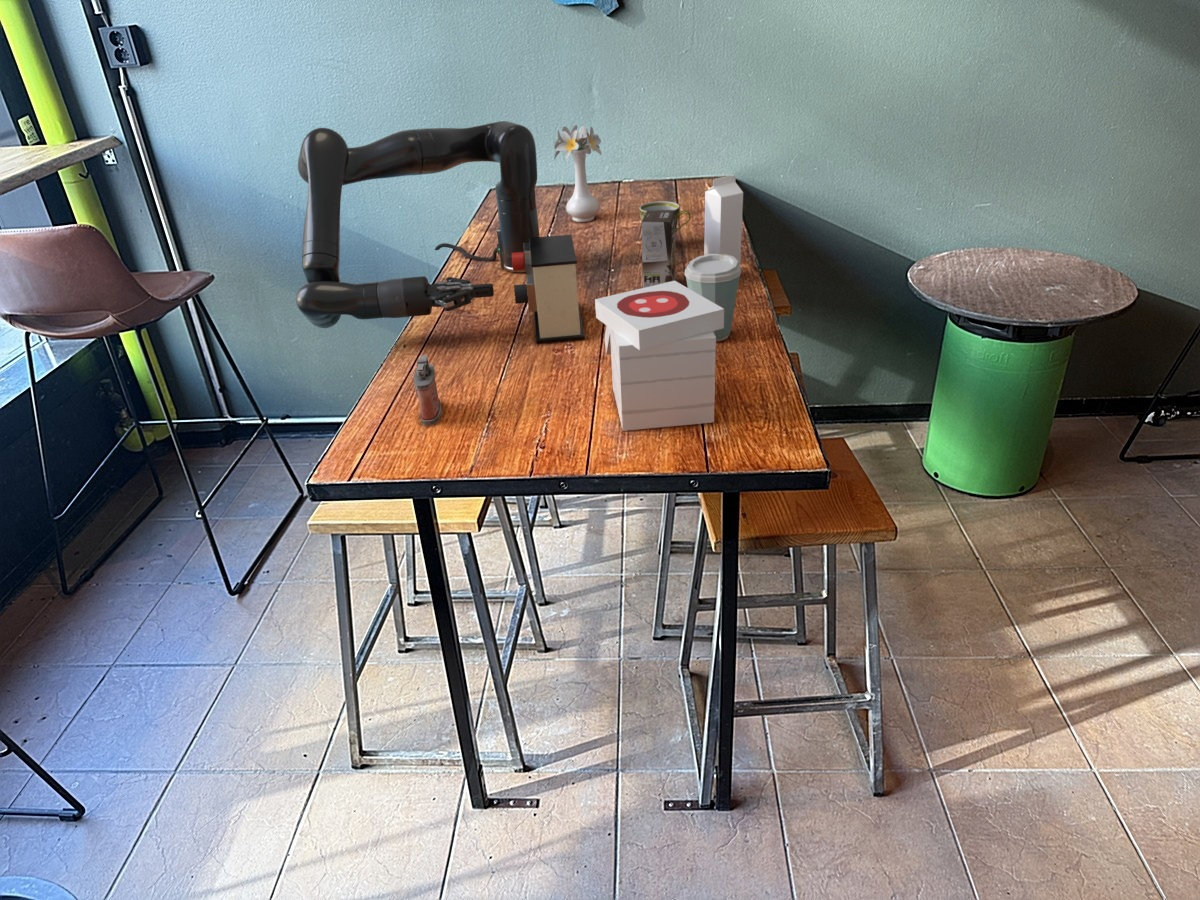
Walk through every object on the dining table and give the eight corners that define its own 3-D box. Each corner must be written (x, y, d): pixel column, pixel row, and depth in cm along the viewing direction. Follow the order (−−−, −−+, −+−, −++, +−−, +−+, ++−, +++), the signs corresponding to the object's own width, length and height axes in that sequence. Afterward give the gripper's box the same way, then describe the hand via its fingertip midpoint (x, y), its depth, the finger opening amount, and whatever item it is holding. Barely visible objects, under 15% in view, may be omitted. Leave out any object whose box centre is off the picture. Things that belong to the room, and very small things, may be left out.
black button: (515, 306, 161) (513, 288, 159) (515, 299, 164) (513, 282, 162) (528, 305, 161) (526, 287, 159) (527, 298, 164) (526, 281, 162)
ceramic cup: (634, 250, 207) (633, 211, 202) (647, 238, 215) (647, 200, 210) (684, 254, 203) (684, 214, 198) (695, 242, 211) (696, 202, 205)
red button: (513, 273, 166) (511, 256, 164) (513, 267, 169) (511, 250, 168) (525, 272, 166) (523, 255, 165) (525, 266, 170) (523, 249, 168)
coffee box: (671, 294, 181) (670, 221, 172) (642, 294, 182) (640, 221, 174) (676, 279, 188) (676, 209, 180) (648, 279, 190) (646, 209, 181)
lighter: (423, 403, 144) (413, 351, 138) (443, 401, 144) (434, 349, 139) (418, 426, 137) (408, 372, 132) (439, 424, 137) (429, 370, 132)
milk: (740, 276, 189) (744, 177, 177) (718, 281, 186) (722, 182, 174) (724, 268, 193) (727, 172, 181) (702, 274, 191) (705, 176, 179)
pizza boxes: (692, 349, 157) (693, 256, 147) (728, 427, 131) (732, 322, 122) (592, 358, 156) (586, 265, 146) (609, 439, 130) (603, 333, 121)
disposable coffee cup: (725, 351, 155) (727, 274, 147) (674, 340, 160) (673, 266, 152) (747, 330, 163) (751, 256, 155) (698, 321, 168) (699, 249, 160)
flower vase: (602, 208, 242) (597, 117, 229) (607, 226, 226) (602, 130, 213) (557, 211, 241) (550, 121, 228) (560, 229, 226) (552, 134, 213)
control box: (532, 344, 162) (524, 266, 154) (530, 310, 177) (522, 237, 169) (585, 339, 163) (579, 261, 154) (578, 306, 178) (573, 233, 169)
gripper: (411, 303, 169) (495, 295, 170) (404, 328, 158) (495, 320, 159) (404, 267, 165) (491, 260, 166) (397, 291, 154) (490, 283, 155)
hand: (493, 289), depth 162 cm, fingers closed
